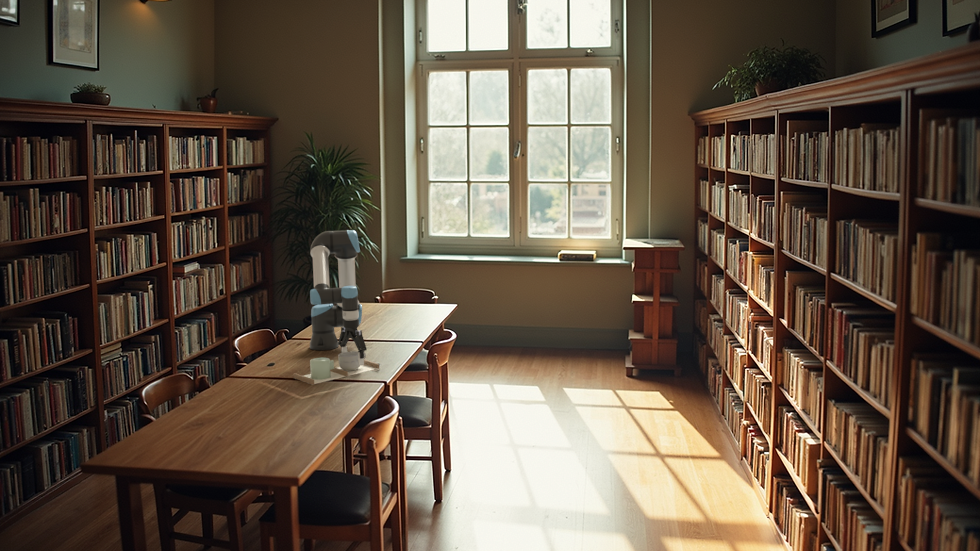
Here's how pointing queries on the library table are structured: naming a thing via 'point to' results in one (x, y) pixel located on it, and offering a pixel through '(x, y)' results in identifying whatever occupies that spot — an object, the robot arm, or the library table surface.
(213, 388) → the library table surface
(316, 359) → the pale green cup
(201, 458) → the library table surface
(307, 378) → the beige tray
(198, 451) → the library table surface
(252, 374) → the library table surface
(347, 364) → the teacup
